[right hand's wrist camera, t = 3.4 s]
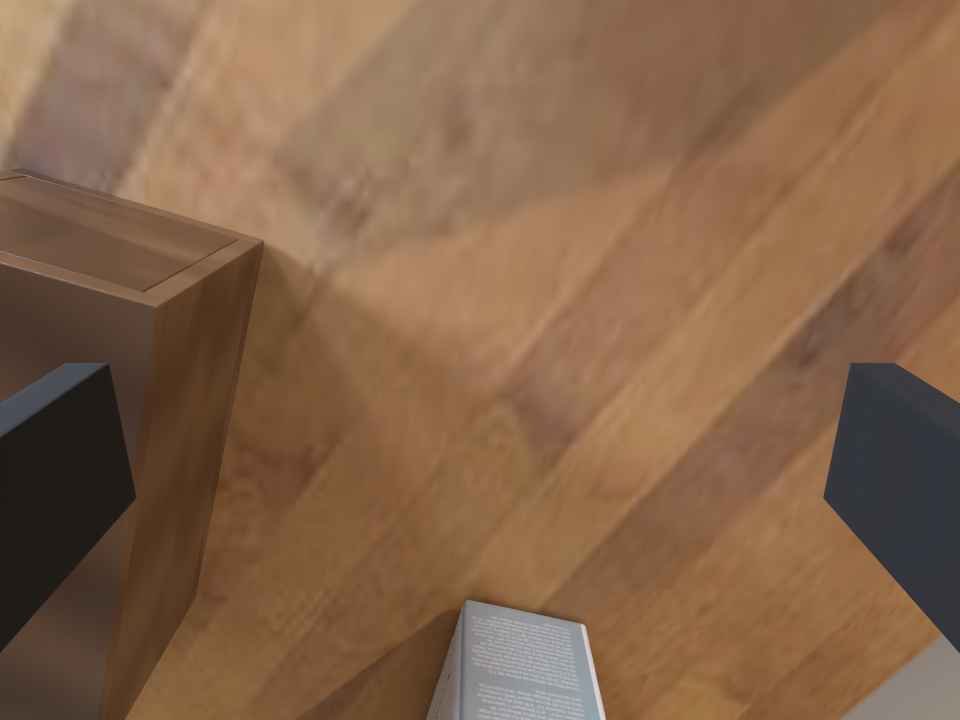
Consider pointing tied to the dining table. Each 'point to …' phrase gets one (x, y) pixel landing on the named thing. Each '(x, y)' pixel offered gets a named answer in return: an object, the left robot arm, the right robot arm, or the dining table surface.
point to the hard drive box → (516, 669)
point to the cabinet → (122, 420)
